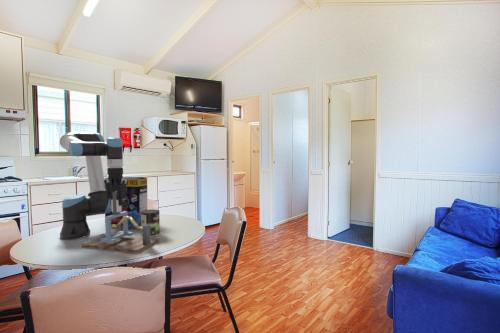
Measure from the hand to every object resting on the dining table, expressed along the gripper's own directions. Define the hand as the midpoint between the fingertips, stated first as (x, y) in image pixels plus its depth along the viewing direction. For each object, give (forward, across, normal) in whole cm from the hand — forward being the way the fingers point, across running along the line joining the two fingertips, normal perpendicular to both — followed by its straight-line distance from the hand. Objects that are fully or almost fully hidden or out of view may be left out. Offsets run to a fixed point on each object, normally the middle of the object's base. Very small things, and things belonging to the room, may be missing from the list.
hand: (116, 211), depth 150 cm
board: (+18, +2, 0) cm, 18 cm away
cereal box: (+18, -26, +39) cm, 50 cm away
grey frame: (+14, 0, 0) cm, 14 cm away
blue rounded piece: (+18, -11, +28) cm, 35 cm away
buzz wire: (+16, +7, 0) cm, 18 cm away
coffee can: (+18, +7, +19) cm, 27 cm away
